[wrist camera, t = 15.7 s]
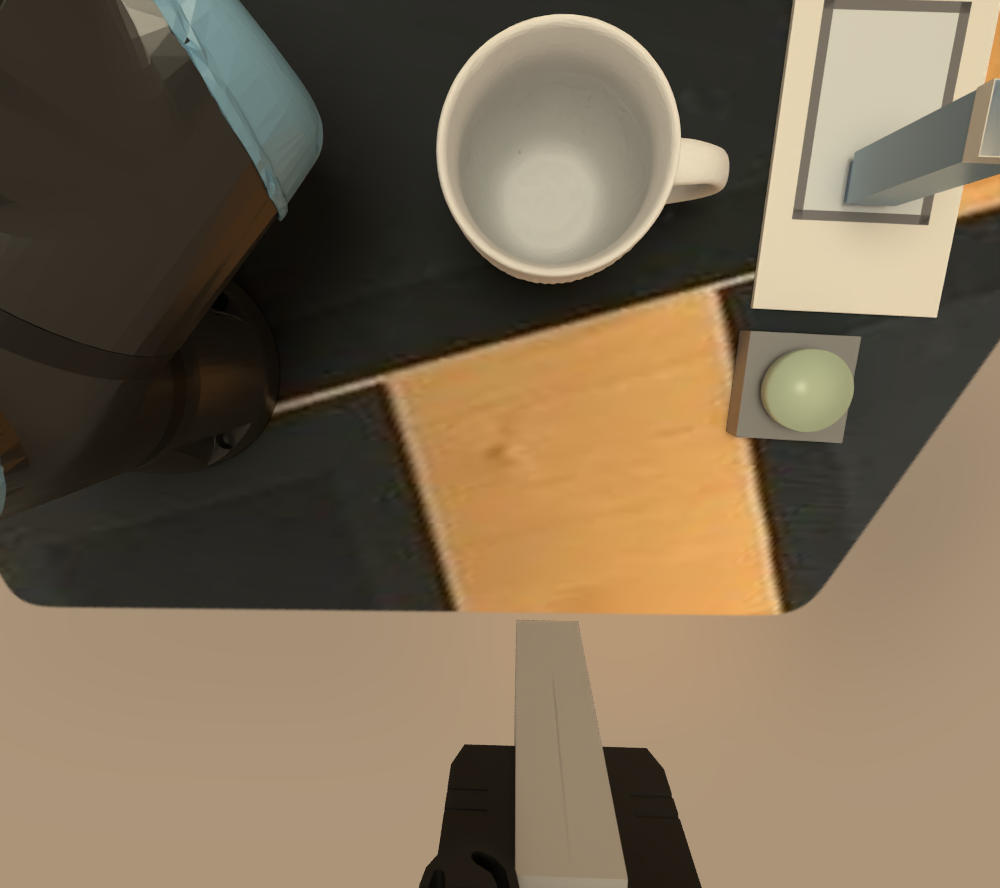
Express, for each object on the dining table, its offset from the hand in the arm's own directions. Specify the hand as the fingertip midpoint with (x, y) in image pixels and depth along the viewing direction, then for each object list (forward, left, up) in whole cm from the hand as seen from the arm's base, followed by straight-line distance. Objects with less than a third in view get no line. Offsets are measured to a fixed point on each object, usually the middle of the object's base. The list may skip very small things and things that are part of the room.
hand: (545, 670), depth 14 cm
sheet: (+20, +22, -28) cm, 41 cm away
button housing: (+17, +5, -28) cm, 33 cm away
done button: (+17, +5, -28) cm, 33 cm away
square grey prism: (+20, +18, -28) cm, 39 cm away
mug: (+1, +16, -28) cm, 33 cm away
